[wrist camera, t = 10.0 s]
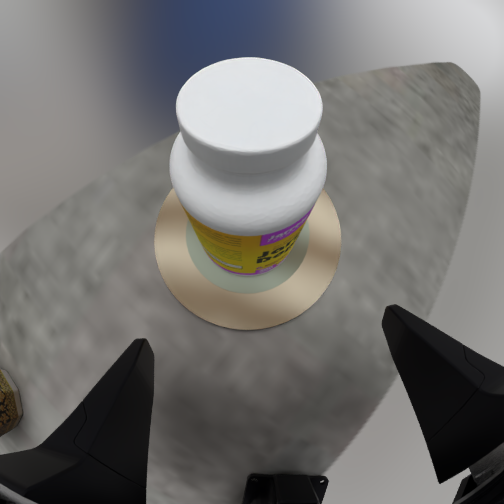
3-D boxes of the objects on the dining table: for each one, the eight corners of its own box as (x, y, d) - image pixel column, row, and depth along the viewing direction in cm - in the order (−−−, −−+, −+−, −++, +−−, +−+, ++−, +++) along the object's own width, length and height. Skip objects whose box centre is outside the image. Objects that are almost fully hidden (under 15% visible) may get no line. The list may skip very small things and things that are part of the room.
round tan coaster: (328, 339, 19) (333, 340, 18) (143, 311, 20) (136, 310, 18) (338, 173, 23) (343, 165, 22) (182, 153, 23) (178, 144, 22)
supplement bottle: (255, 298, 19) (269, 237, 6) (183, 239, 20) (105, 120, 7) (311, 225, 20) (382, 98, 8) (241, 175, 21) (236, 29, 9)
